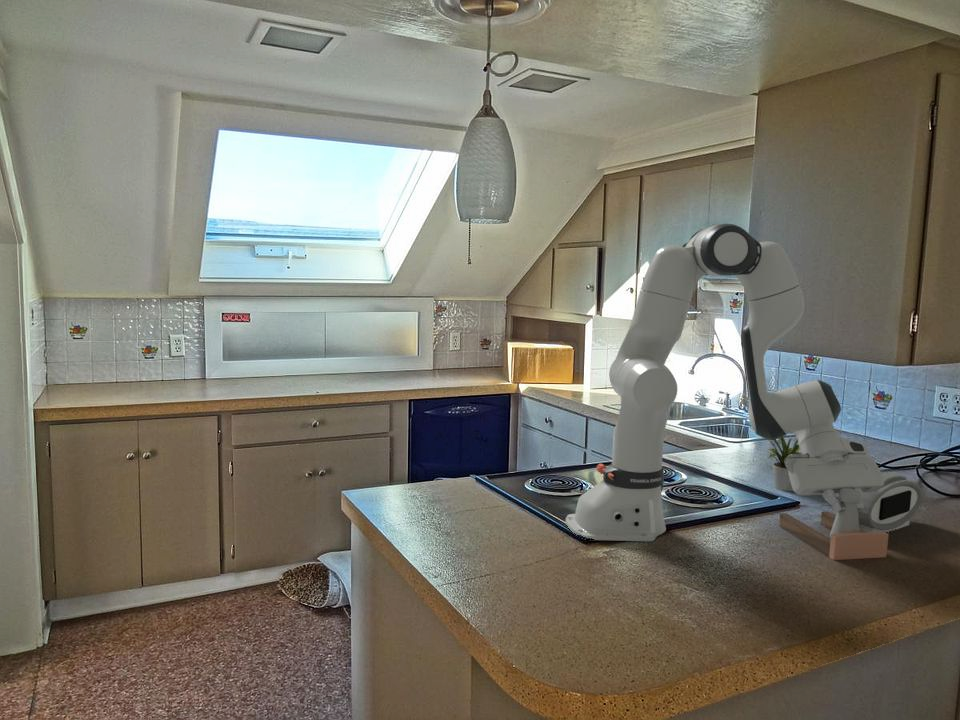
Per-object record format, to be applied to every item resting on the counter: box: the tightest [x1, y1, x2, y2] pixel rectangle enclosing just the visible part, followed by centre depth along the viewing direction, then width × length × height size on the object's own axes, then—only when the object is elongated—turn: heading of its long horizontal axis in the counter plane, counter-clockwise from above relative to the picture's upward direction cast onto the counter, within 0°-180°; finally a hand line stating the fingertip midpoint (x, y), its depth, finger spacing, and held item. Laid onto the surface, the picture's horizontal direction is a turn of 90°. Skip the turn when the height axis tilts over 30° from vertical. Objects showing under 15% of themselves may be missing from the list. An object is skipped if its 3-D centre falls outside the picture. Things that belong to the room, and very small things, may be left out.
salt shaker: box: [829, 488, 862, 539], centre depth 157 cm, size 6×6×13 cm
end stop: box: [828, 531, 889, 561], centre depth 153 cm, size 12×2×5 cm, turn 100°
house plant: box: [765, 433, 802, 492], centre depth 199 cm, size 14×14×16 cm
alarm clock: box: [858, 472, 923, 533], centre depth 170 cm, size 23×6×13 cm, turn 123°
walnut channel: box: [778, 511, 866, 558], centre depth 163 cm, size 12×18×3 cm
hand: (850, 510), depth 156 cm, fingers closed on salt shaker, 3 cm apart
